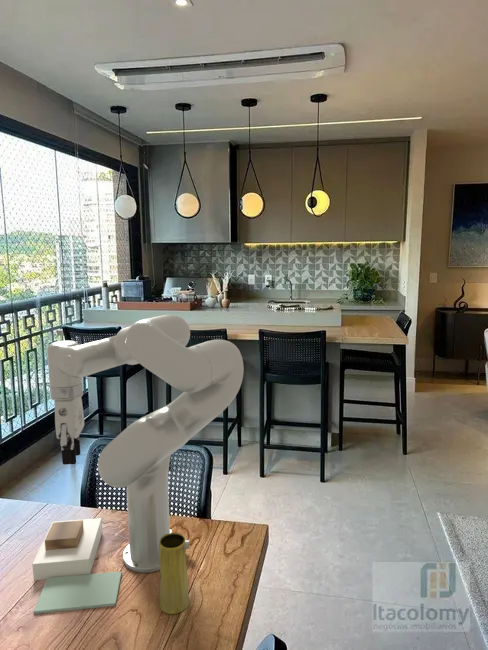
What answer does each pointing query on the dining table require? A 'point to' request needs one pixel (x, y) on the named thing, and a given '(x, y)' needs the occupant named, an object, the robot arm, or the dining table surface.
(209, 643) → the dining table surface
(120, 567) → the dining table surface
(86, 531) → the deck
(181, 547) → the vase
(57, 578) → the mat
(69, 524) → the block
